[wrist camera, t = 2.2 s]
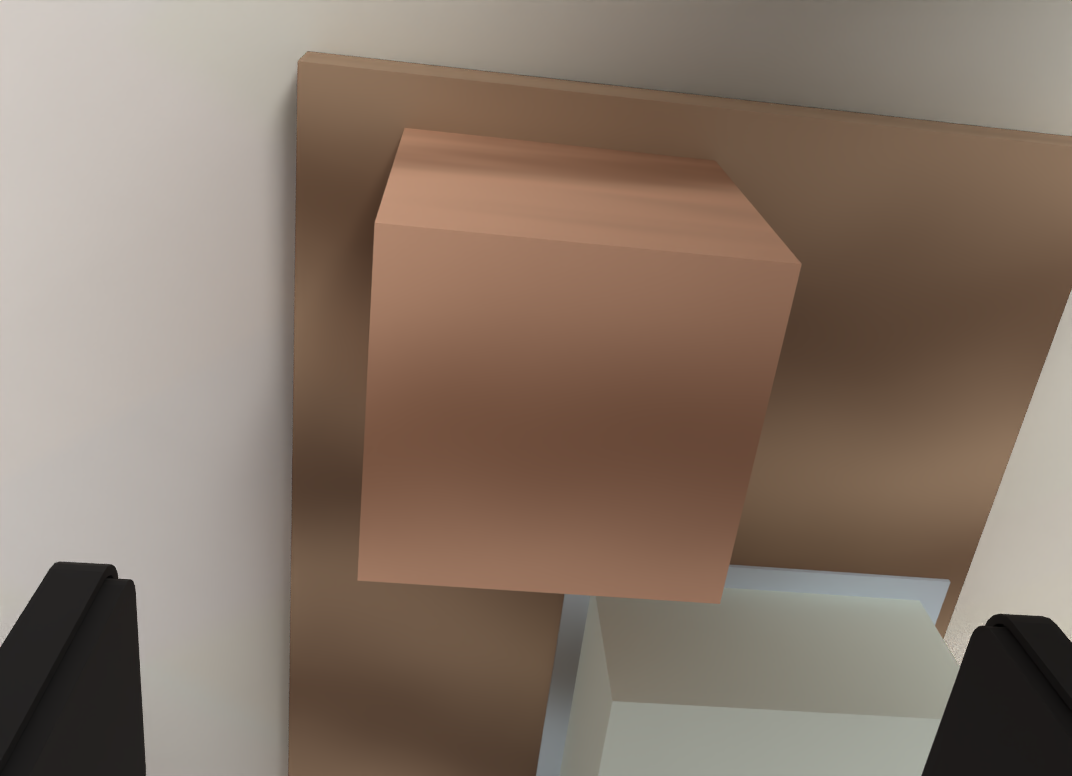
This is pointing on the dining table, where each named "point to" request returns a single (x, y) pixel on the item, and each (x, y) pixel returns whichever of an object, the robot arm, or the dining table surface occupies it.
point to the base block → (757, 687)
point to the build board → (791, 417)
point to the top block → (565, 368)
